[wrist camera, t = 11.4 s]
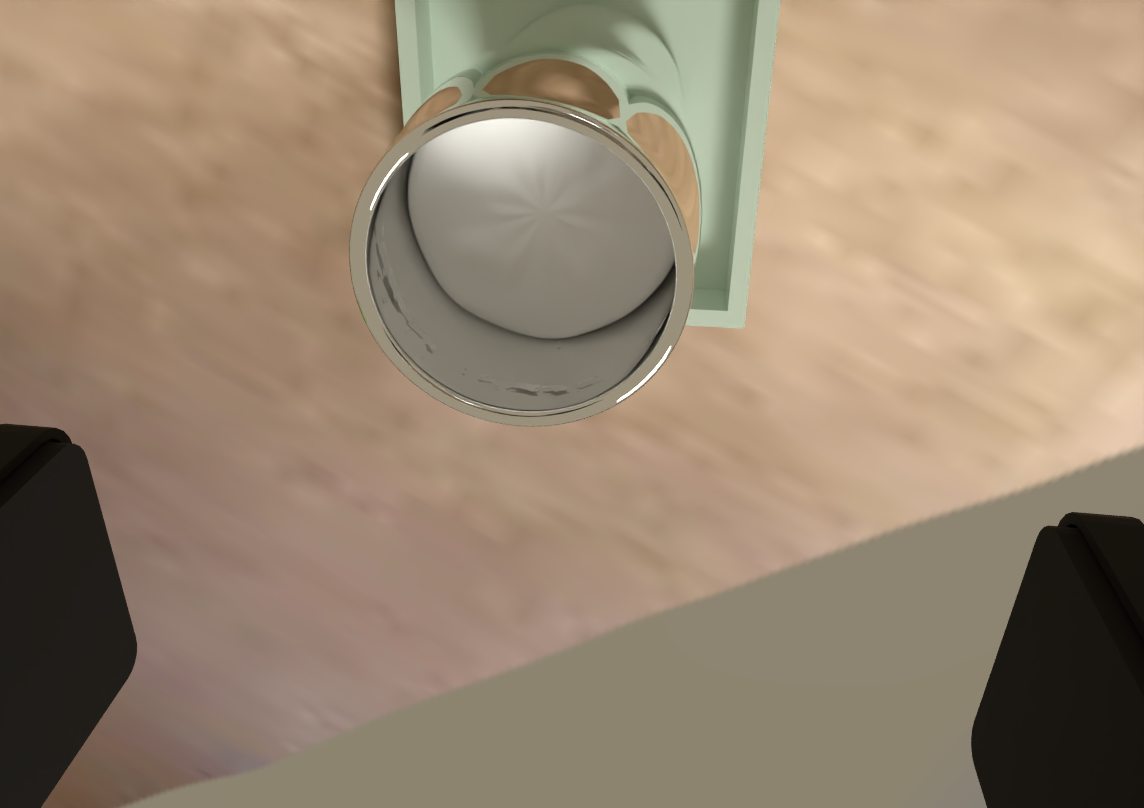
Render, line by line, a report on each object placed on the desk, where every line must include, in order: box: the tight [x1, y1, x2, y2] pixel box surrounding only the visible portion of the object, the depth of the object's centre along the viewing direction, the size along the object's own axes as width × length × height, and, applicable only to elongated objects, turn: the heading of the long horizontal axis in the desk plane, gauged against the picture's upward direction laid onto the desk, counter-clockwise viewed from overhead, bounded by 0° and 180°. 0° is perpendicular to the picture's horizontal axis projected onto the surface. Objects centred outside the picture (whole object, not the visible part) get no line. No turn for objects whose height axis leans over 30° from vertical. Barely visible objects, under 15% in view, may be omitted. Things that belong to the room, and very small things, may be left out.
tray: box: [395, 0, 780, 328], centre depth 31 cm, size 13×11×2 cm
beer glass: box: [349, 3, 702, 427], centre depth 25 cm, size 7×7×15 cm
